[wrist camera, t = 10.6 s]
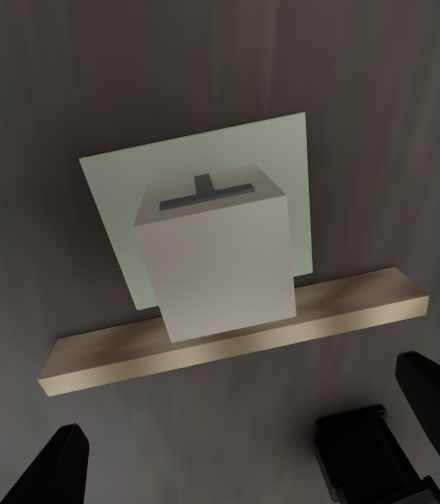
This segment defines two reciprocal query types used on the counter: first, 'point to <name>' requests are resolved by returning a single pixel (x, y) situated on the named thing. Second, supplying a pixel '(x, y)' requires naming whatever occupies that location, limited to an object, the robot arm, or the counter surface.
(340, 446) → the robot arm
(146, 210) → the letter cube
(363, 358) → the counter surface
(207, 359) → the birch screen
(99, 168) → the sage mat
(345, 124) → the counter surface
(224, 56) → the counter surface
